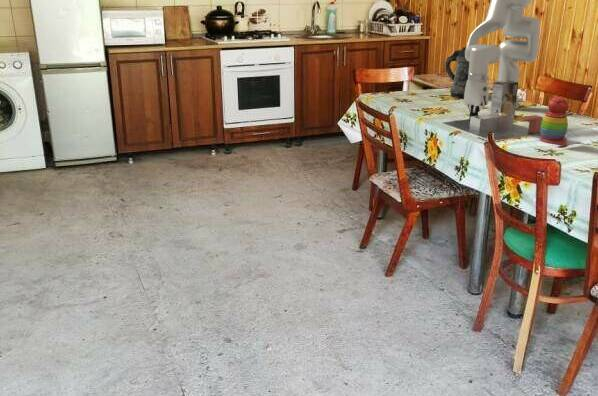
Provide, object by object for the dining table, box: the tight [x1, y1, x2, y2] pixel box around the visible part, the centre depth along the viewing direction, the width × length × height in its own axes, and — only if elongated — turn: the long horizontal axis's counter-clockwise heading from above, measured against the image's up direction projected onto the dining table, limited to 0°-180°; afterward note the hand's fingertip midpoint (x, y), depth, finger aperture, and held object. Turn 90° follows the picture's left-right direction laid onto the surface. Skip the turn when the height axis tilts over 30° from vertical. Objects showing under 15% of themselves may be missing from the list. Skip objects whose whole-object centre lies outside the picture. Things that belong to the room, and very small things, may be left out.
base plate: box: [442, 118, 541, 142], centre depth 242 cm, size 26×32×1 cm
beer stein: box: [444, 47, 470, 100], centre depth 302 cm, size 16×19×25 cm
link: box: [470, 112, 515, 132], centre depth 241 cm, size 17×6×5 cm, turn 114°
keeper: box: [515, 114, 543, 133], centre depth 232 cm, size 10×4×6 cm, turn 114°
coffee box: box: [489, 80, 519, 117], centre depth 259 cm, size 9×6×16 cm
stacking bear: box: [539, 95, 571, 149], centre depth 219 cm, size 11×10×18 cm
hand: (473, 120), depth 247 cm, fingers closed
